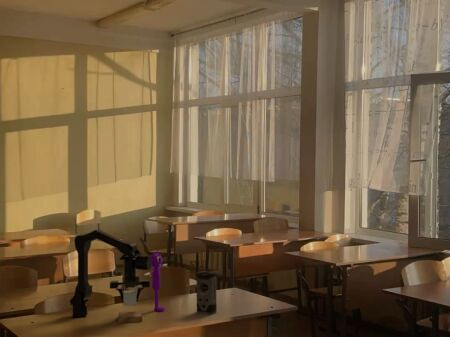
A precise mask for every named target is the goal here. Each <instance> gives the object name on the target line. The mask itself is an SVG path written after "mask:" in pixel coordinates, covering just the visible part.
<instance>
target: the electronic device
mask: <svg viewBox="0 0 450 337" xmlns="http://www.w3.org/2000/svg"><path fill="white" fill-rule="evenodd" d="M195 277H196V313H197V314H204V315H214V314H216V313H217V312H218V310H217V309H218V308H217V272H215V271H207V270H206V271H205V270H201V271H200V270H199V271H197V272H196V276H195Z"/></svg>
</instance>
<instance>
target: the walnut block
mask: <svg viewBox="0 0 450 337" xmlns="http://www.w3.org/2000/svg"><path fill="white" fill-rule="evenodd" d="M117 316H118V317H117V323H118V324H120V323H139V322H140V323H142V322H143V311H141V310H140V311H139V310H138V311H120V312H118V315H117Z"/></svg>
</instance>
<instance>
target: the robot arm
mask: <svg viewBox="0 0 450 337" xmlns="http://www.w3.org/2000/svg"><path fill="white" fill-rule="evenodd" d="M96 240H98V241H100V242H102V243H105V244H108V245H109V246H112V248H113V247H114V248H115V249H116V250H118V252H119V253H121V257H120V258H119V261H123V281H121V282H119V280H111V281H110V282H109V289H110V290H111V289H114V290H116V291H118V293H119V295H120V298H121V301H122V303H123V304H124V291H123V287H124V288H127V289H128V288H132V289H133V288H135V287H137V289H136V303H138V301H139V298H140V294H141V292H142V290H144V289H145V288H150V286H151V281H150V279H141V281H140V276H137V270H139V271H150V270H151V269H152V268H153V267H152V262H151V259H150V257H151V256H150V255H143V254H142V252H140V250H139V249H138V245H137V243H136V242H134V241H129V240H123V239H120V238H117V237H116V236H114V235H111V234H109V233H107V232H105V231H104V230H103V231H102V229H95V230H93V231H90V232H88V233H84V234H79V235H76V236H75V237H74V241H73V242H74V248H75V250H76V252H77V283H76V286H75V289H74V294H73V296H72V298H70V300H69V304H70V305H71V306H72V316H71V318H86V317H87V315H88V305H87V303H88V302H89V301H90V300H89V299H90V298H91V297H92V294H93V293H94V292H93V285H92V284H91V285H90V283H89V253H90V252H89V251H90V249H91V246H92V242H94V241H96Z"/></svg>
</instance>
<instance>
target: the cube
mask: <svg viewBox="0 0 450 337" xmlns="http://www.w3.org/2000/svg"><path fill="white" fill-rule="evenodd" d="M123 297H124V303H123V307H136V306H137V302H136V297H137V290H124V291H123Z"/></svg>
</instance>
